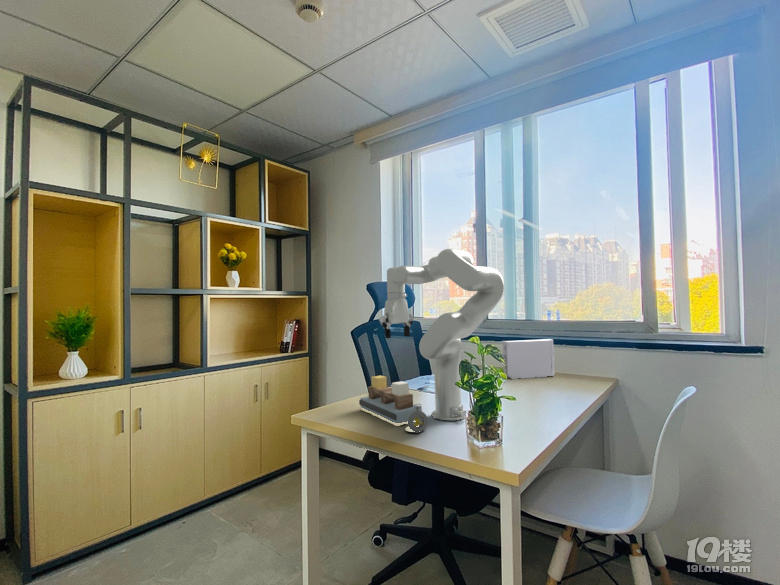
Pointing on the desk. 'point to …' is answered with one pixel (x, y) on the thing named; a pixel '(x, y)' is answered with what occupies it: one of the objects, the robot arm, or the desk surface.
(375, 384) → the mustard box
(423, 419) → the pocket watch
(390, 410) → the dock
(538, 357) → the game console
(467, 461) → the desk surface
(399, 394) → the cream box
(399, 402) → the brown blocks
